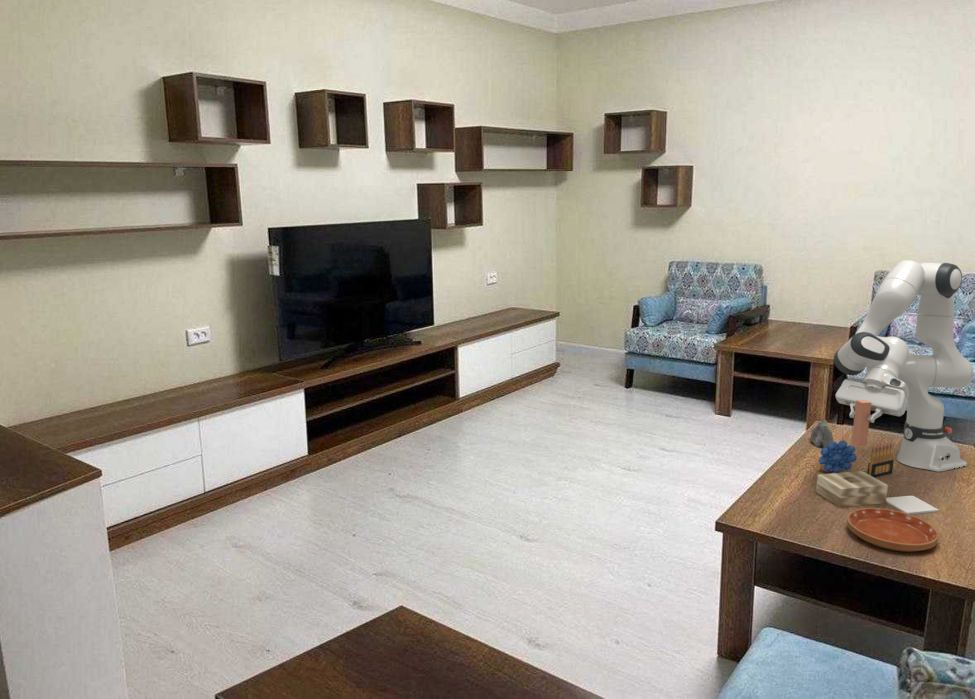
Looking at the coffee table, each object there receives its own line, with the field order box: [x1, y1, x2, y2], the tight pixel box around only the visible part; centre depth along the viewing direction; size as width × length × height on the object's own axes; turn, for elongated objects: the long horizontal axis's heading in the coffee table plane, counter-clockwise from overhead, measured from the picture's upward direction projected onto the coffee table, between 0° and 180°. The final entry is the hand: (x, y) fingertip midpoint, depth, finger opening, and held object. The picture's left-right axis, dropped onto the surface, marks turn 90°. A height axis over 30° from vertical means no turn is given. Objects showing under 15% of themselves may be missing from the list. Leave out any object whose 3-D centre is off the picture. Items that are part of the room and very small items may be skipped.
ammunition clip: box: [866, 439, 895, 479], centre depth 258 cm, size 11×2×12 cm, turn 116°
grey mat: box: [885, 495, 940, 515], centre depth 234 cm, size 11×11×1 cm
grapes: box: [818, 440, 858, 473], centre depth 260 cm, size 12×7×12 cm, turn 63°
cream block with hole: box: [815, 470, 889, 508], centre depth 240 cm, size 17×12×6 cm
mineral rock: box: [810, 418, 835, 449], centre depth 290 cm, size 13×11×10 cm
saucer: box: [846, 507, 940, 553], centre depth 214 cm, size 23×23×4 cm
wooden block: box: [851, 400, 872, 447], centre depth 234 cm, size 3×3×14 cm
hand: (861, 419), depth 234 cm, fingers closed on wooden block, 4 cm apart
